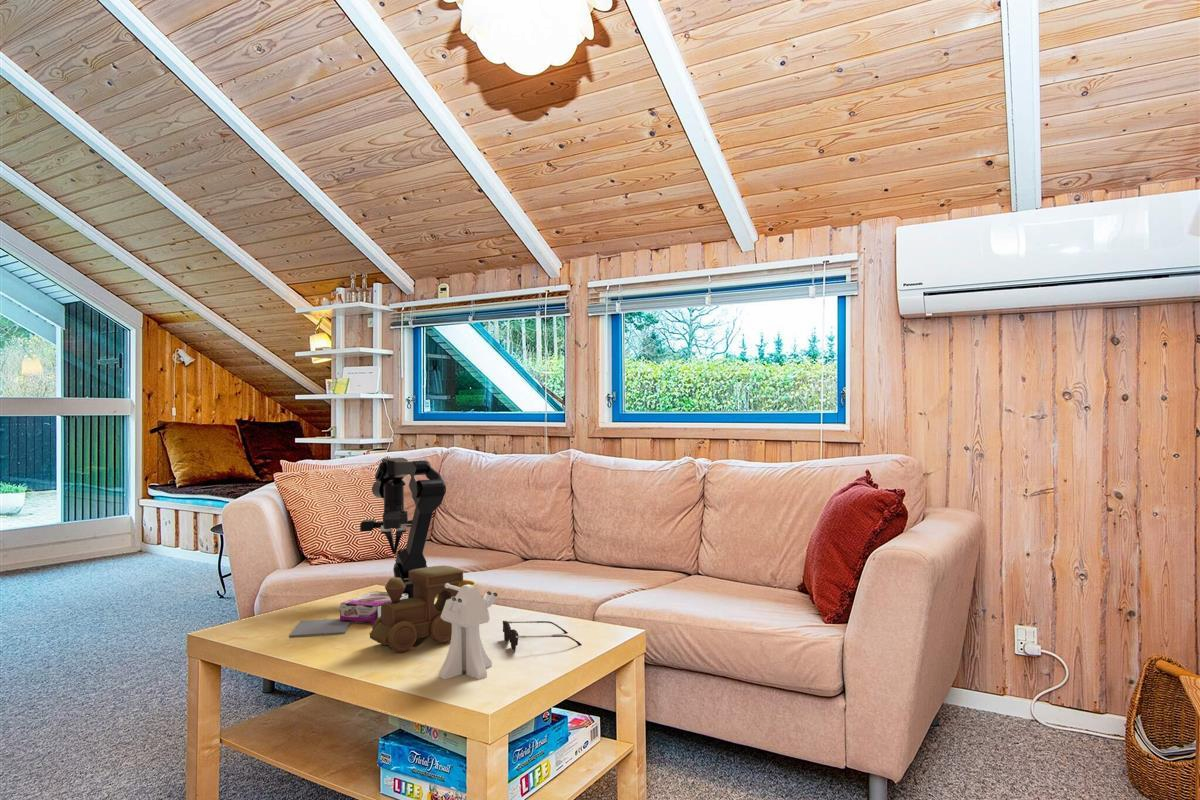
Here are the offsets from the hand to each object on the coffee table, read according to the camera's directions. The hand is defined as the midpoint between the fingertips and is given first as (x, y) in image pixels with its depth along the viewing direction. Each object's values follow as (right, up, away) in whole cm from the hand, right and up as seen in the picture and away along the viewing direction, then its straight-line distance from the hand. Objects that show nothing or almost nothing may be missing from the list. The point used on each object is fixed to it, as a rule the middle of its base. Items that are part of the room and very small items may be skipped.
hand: (394, 553), depth 235 cm
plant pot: (+23, -12, -28) cm, 38 cm away
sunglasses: (+47, -12, -48) cm, 68 cm away
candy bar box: (-2, -10, -30) cm, 31 cm away
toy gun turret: (+32, -12, -68) cm, 76 cm away
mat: (-10, -13, -32) cm, 36 cm away
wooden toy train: (+17, -12, -47) cm, 51 cm away
